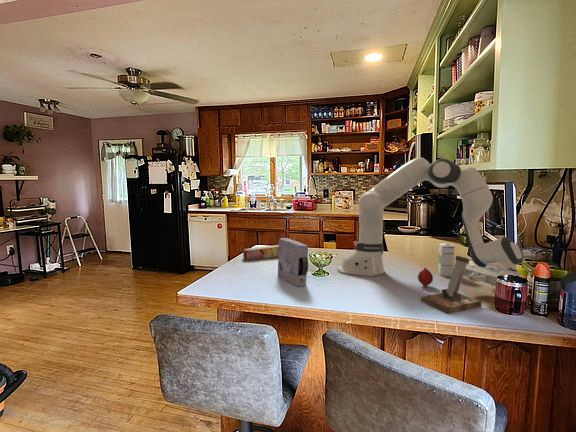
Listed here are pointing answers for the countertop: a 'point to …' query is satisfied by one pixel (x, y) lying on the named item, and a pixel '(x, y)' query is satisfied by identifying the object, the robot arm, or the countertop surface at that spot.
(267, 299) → the countertop surface
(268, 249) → the snack package
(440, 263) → the white cylindrical container
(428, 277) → the onion
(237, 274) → the countertop surface
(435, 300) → the switch base
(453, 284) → the lever
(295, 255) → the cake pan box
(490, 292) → the countertop surface
